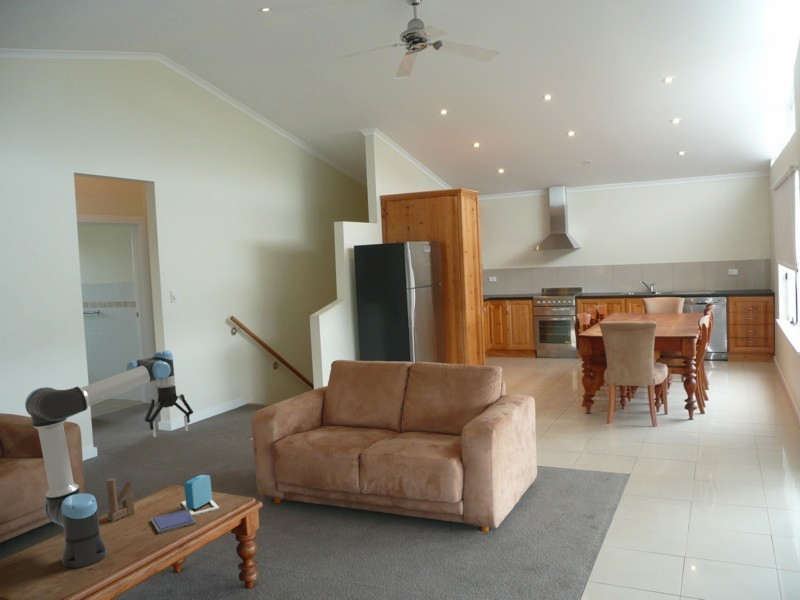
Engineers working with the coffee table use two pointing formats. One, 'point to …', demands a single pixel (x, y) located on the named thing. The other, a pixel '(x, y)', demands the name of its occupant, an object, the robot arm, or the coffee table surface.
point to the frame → (202, 510)
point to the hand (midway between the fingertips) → (170, 433)
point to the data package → (198, 491)
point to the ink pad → (172, 521)
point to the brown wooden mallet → (119, 500)
